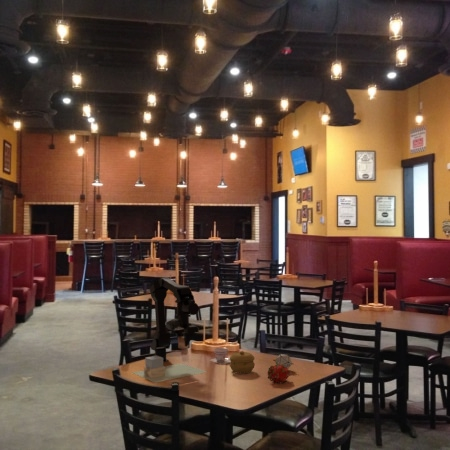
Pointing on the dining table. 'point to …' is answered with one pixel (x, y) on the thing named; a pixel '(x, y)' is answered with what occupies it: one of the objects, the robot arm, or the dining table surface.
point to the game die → (283, 360)
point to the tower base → (154, 371)
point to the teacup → (221, 356)
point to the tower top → (154, 362)
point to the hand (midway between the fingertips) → (183, 345)
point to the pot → (242, 362)
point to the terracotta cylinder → (182, 343)
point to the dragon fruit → (278, 373)
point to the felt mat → (173, 372)
